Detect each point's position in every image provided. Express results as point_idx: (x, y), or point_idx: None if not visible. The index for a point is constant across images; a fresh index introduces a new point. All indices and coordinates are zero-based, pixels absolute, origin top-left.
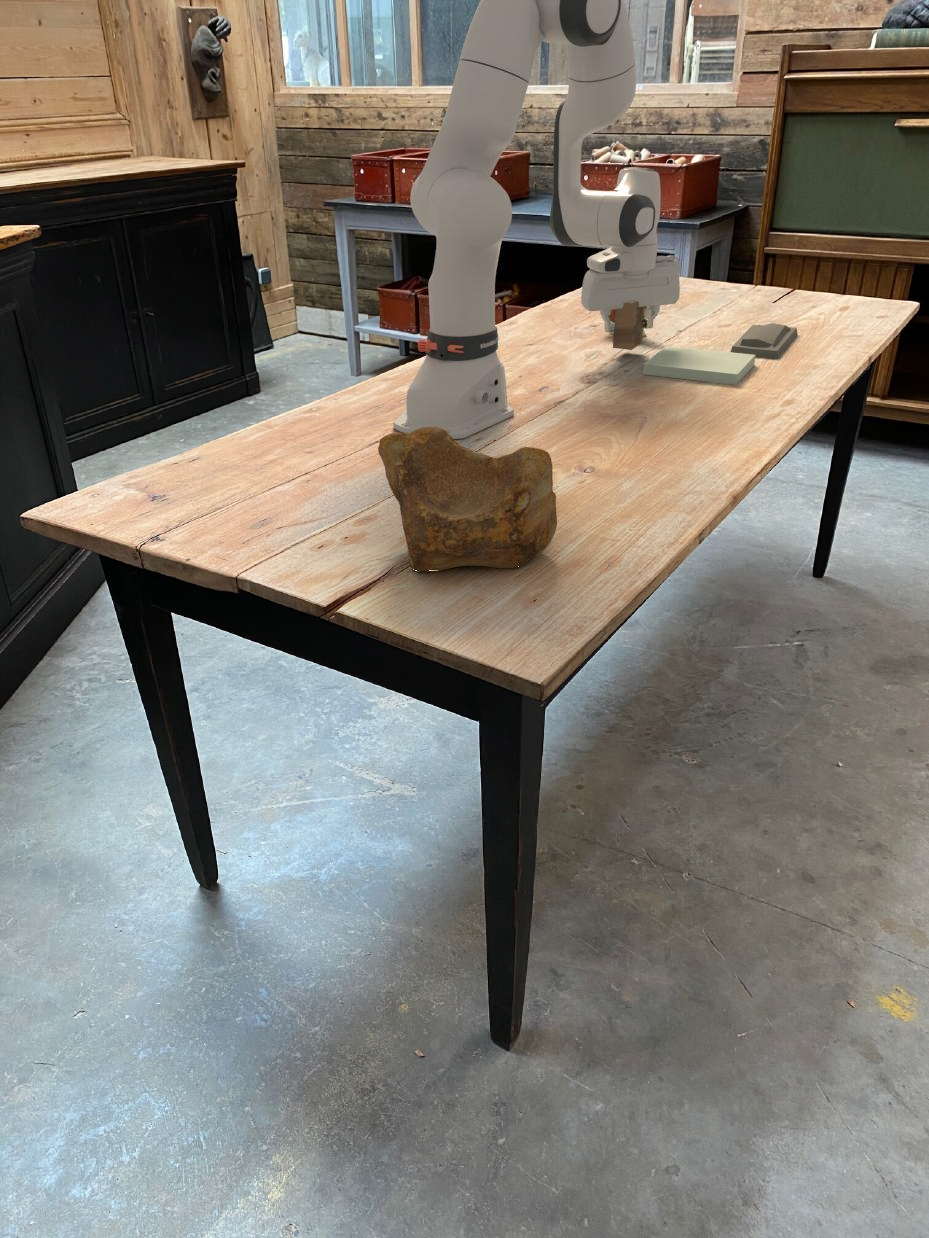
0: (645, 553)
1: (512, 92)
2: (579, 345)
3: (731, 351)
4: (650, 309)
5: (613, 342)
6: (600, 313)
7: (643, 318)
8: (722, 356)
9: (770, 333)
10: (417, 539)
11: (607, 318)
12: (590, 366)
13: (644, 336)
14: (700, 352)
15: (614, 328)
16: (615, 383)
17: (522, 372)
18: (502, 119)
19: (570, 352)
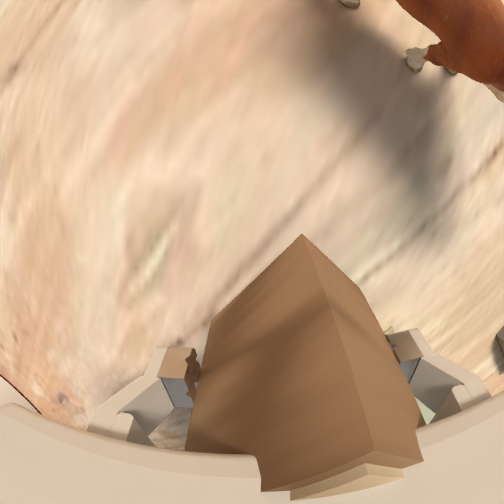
0: None
1: None
2: (138, 85)
3: (499, 338)
4: (445, 401)
5: (209, 336)
6: (99, 413)
7: (398, 367)
8: (426, 420)
9: None
10: None
11: (145, 428)
12: (133, 346)
13: (450, 72)
14: (419, 401)
15: (200, 383)
16: (177, 432)
17: (10, 316)
18: None
19: (85, 183)
